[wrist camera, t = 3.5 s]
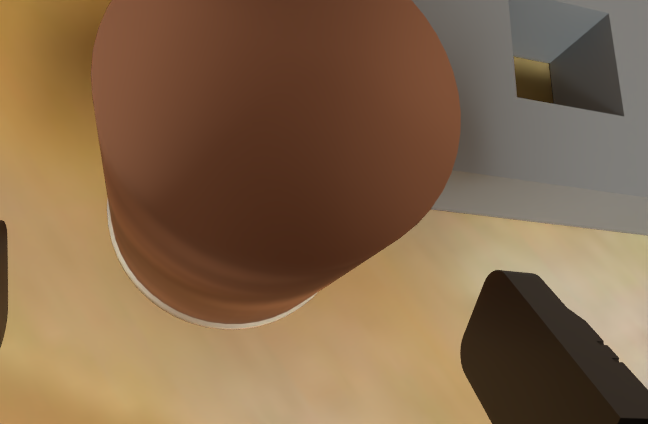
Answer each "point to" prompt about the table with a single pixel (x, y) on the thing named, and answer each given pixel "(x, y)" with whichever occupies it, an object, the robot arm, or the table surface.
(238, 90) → the peg
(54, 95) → the table surface
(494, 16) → the board
